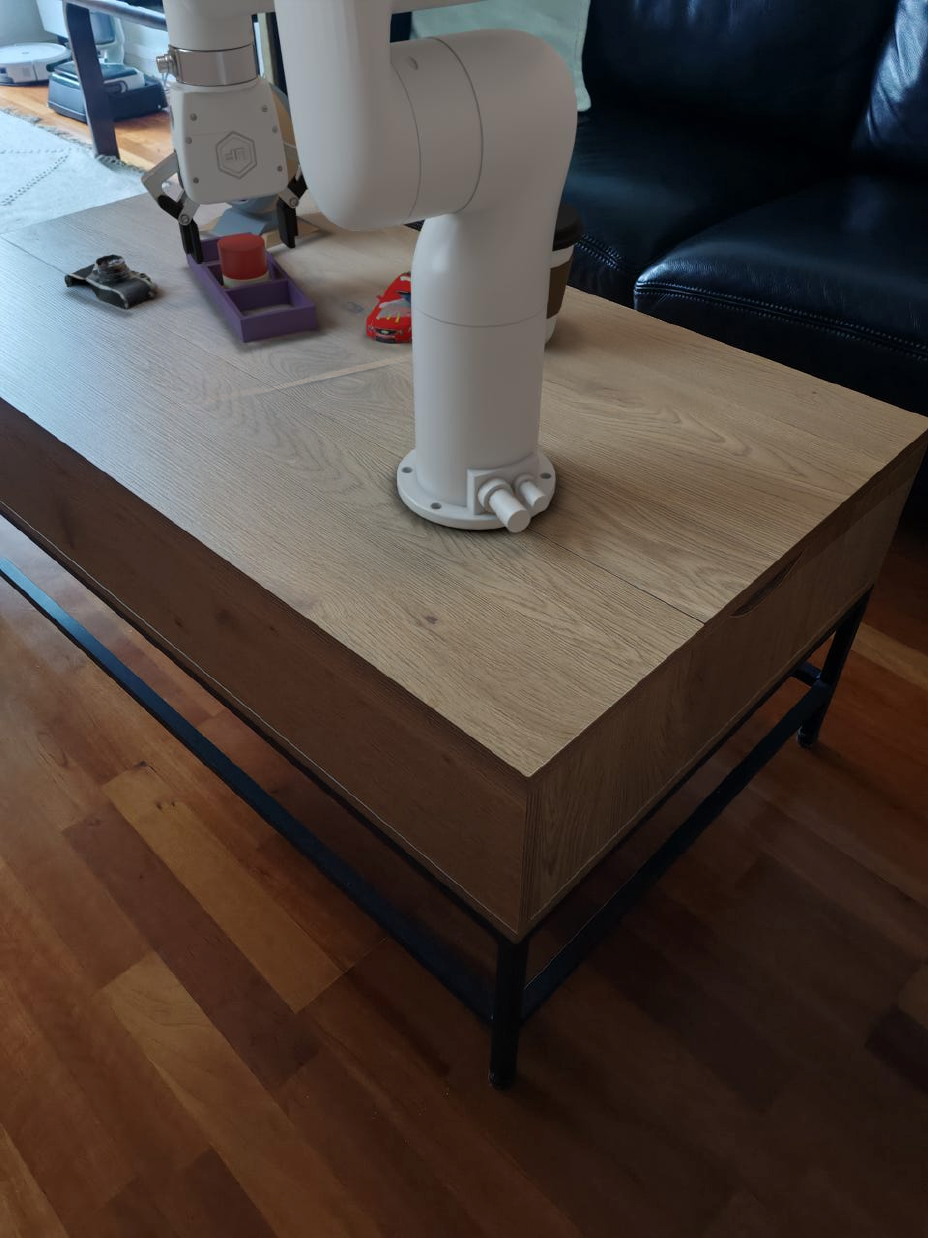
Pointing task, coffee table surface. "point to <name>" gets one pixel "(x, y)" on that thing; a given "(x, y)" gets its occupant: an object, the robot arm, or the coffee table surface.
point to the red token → (242, 256)
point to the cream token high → (245, 281)
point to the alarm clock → (262, 210)
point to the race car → (392, 313)
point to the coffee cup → (561, 260)
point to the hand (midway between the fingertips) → (243, 251)
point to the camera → (115, 282)
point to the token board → (255, 298)
